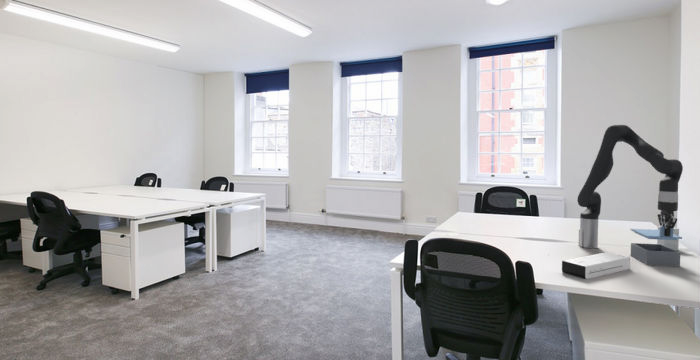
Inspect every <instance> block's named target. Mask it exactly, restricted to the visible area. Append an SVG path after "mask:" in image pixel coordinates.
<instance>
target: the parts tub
mask: <svg viewBox="0 0 700 360" xmlns="http://www.w3.org/2000/svg"><path fill="white" fill-rule="evenodd" d="M630 257H632V258H634V259H636V260H637V261H639V262H641V263H642V264H644V265H646V266H659V267H660V266H661V267H663V266H664V267H665V266H666V267H681V251H679V250H673V249H671V248H669V247H666V246H664V245H662V244H657V243H636V242H631V243H630Z"/></svg>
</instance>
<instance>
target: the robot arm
mask: <svg viewBox="0 0 700 360" xmlns="http://www.w3.org/2000/svg"><path fill="white" fill-rule="evenodd" d="M620 142H623V143H625V144H627V145H630V147H632V148H633V149H634V151H635V152H636V154H637V155H638V156H639V157H641V158H642V159H643V160H645V161H646V162H648V163H649V164H650V165H651V166H652V168H653V169H654V170H656V172H658V173H660V174H662V175H664V178H662V179H661V180H660V181H659V189H658V195H657V210H658V211H660V213H658V214H657V218H658V219H657V220H658V223H659V226H662V227H665V231H664V236H670V232H671V229H672V228H675V226H676V224H677V222H678V218H676V217H675V213H674V212H677V211H678V210H679V207H678V206H679V193H678V192H679V183H680V179H681V177H682V174H683V168H684V166H683V164H682V162H681V161H680V160H678V159H675V158H674V159H668V158H666V157H664V156H665V155H664V153H663V152H662V151H661V150H659V149H658V148H655V147H654V146H652V145H651V144H649V142H647V141H645V140H644V139H643V138H642V137H641V136H640V135H639V134H638V133H636V132H635V131H634V130H633V129H632V128H631V127H630V126H628V125H626V124H612V125H610V126H609V125H608V127H607V128H606V130H605V132H604V135H603V138H602V141H601V145H600V148H599V150H598V152H597V155H596V157H595V160H594V162H593V164H592V166H591V169H590V171H589V175H588V176H587V179H586V181H585V182H584V184H583V187H581V190H580V191H579V193H578V196H577V204H578V206H580V207H582V208H586V209H585V210H584V211H582V212H580V217H579V219H580V220H579V229H578V246H579V247H580V248H586V249H597V248H598V246H599V216H600V215H601V207H602V206H601V205H602V197H601V194H600V193H599V192H598V191H595V190H596V189H597V187H599V186H600V185H601V184H603V182H604V181H605V180H607V178H608V177H609V176H610V174H611V172H612V169H613V167H614V157H613V152H614V149H615V147H616V145H617V143H620Z"/></svg>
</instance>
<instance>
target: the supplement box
mask: <svg viewBox="0 0 700 360" xmlns="http://www.w3.org/2000/svg"><path fill="white" fill-rule="evenodd" d="M660 227H662V226H660V225H659V226H657V230H660ZM673 234H674V235H677V236H680V235H679V234H680V228H677V227H674V228H673ZM656 240H657V241H656V244H662V245H664V246H666V247H669V248H671V249H673V250H676V251H679V245H680V244H679V240H680V239H677V240H660V239H656Z"/></svg>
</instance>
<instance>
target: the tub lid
mask: <svg viewBox="0 0 700 360" xmlns="http://www.w3.org/2000/svg"><path fill="white" fill-rule="evenodd" d="M630 231H631V232H632V233H633V232H634V234H637V235H639V236H641V237H643V238H646V239H647V240H657V239H660V240H677V239H679V240H682V239H683V237H682V236H680V235H679V236H677V235H674V234H673V228H672V229H671V232H670V236H664V231H665V227H660V230H658V229H651V228H649V229H645V228H630Z"/></svg>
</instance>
